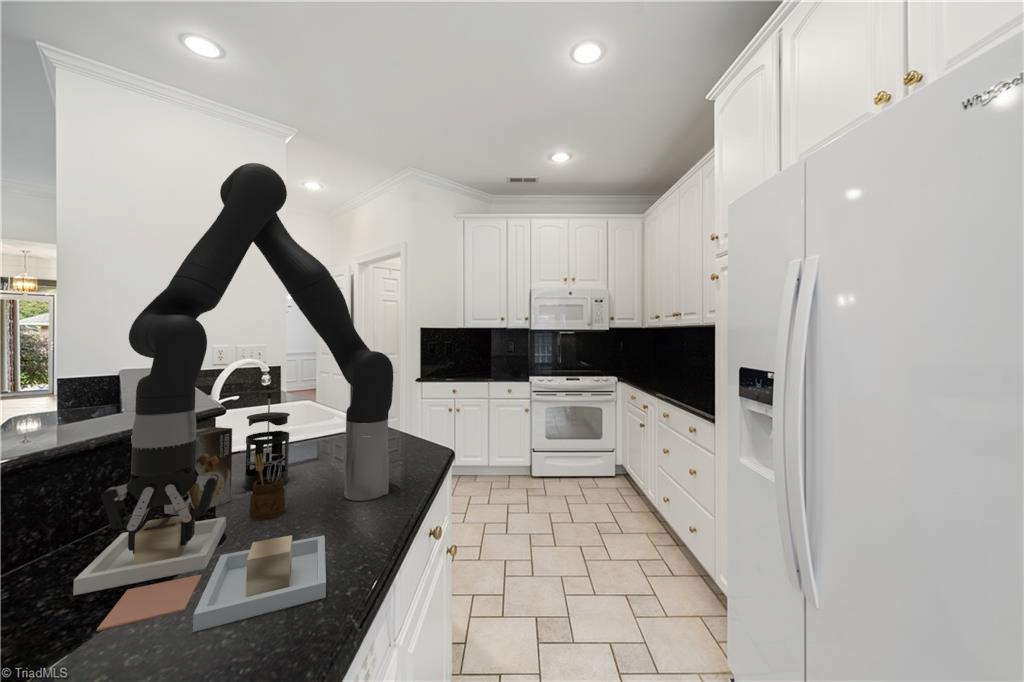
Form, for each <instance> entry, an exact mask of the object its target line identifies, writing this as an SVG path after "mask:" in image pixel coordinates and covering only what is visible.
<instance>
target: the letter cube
mask: <svg viewBox="0 0 1024 682" xmlns="http://www.w3.org/2000/svg"><path fill="white" fill-rule="evenodd" d="M181 522H182V519H181V517H180V515H175V516H171V517H170V516H169V517H163V518H158V519H157V518H156V519H151V520H147V522H146V523H144V524H145V525H144V526H143V527H142V528H141V529H140V530H139V531H138V532H137V533H136V534H135V551H134V565H139V564H144V563H150V562H155V561H161V560H166V559H171V558H177V557H180V555H181V553H182V552H183V550H184V549H185V547H186V546H187V544H186V545H183V546H181Z"/></svg>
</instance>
